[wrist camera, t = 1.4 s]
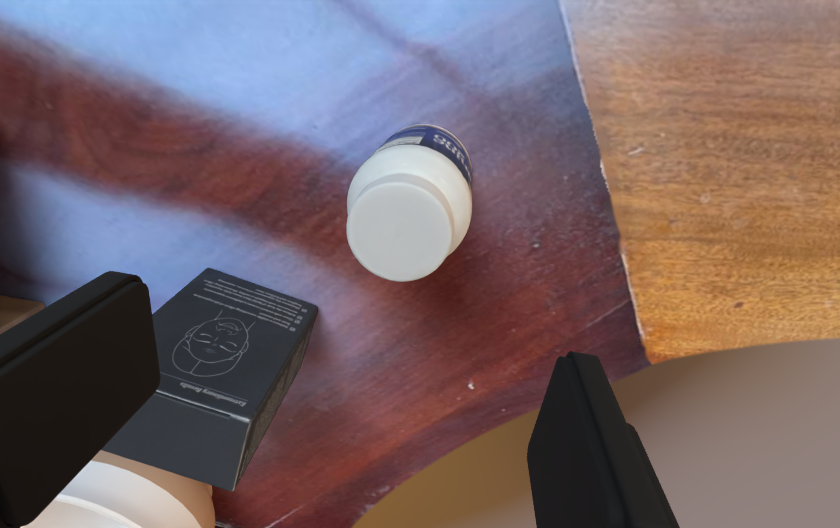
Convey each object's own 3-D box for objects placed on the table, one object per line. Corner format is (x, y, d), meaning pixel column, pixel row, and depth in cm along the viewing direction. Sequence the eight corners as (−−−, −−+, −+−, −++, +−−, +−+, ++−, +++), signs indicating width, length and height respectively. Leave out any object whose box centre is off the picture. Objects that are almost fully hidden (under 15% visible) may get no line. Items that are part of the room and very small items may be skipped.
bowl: (74, 378, 35) (-27, 461, 28) (262, 456, 37) (211, 553, 30) (58, 494, 42) (-26, 584, 35) (217, 555, 44) (168, 653, 37)
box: (198, 330, 32) (82, 448, 22) (209, 264, 29) (82, 365, 20) (303, 366, 32) (232, 498, 23) (321, 304, 30) (250, 423, 20)
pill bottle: (485, 197, 25) (492, 273, 17) (401, 229, 27) (366, 314, 18) (451, 105, 24) (438, 137, 15) (361, 144, 25) (301, 194, 16)
